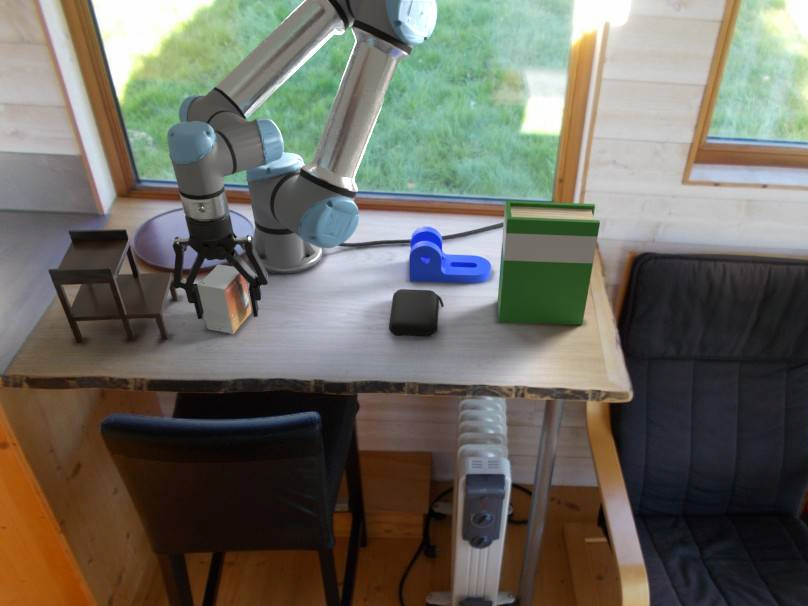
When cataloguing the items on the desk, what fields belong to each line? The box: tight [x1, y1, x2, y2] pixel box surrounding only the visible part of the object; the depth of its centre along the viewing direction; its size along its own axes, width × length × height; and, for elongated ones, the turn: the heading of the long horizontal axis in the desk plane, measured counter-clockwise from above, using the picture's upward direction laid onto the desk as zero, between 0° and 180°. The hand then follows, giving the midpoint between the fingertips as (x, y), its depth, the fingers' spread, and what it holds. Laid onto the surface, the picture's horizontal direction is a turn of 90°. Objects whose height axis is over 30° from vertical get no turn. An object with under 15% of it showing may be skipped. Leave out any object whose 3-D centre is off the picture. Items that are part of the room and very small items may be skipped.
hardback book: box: [497, 199, 601, 325], centre depth 150 cm, size 18×7×24 cm, turn 94°
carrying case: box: [388, 288, 444, 338], centre depth 152 cm, size 11×3×15 cm
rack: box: [47, 228, 179, 344], centre depth 140 cm, size 16×14×16 cm
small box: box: [197, 263, 252, 335], centre depth 144 cm, size 8×6×10 cm
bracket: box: [408, 226, 492, 284], centre depth 164 cm, size 18×8×9 cm, turn 93°
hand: (228, 314), depth 146 cm, fingers open, 10 cm apart
